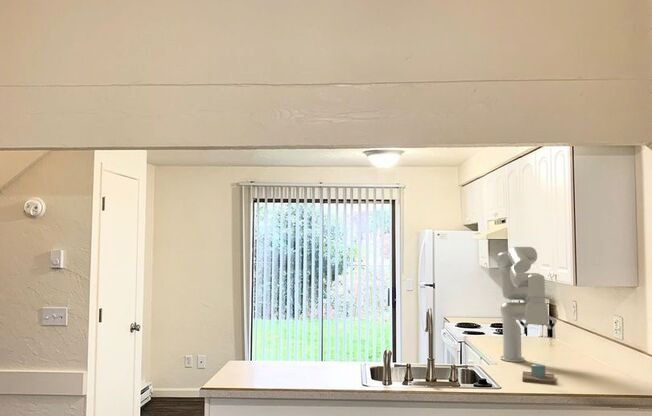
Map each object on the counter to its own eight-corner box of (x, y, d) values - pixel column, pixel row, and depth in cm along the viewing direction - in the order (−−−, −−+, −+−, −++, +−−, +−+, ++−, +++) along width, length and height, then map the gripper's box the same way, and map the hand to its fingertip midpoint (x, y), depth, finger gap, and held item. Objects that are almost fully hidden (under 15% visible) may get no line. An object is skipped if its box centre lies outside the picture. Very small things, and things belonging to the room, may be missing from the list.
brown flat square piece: (522, 374, 251) (522, 371, 251) (554, 377, 246) (553, 374, 246) (522, 381, 238) (522, 378, 238) (555, 384, 233) (555, 381, 233)
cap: (531, 373, 246) (531, 363, 246) (545, 375, 244) (544, 364, 244) (531, 376, 240) (531, 366, 241) (545, 378, 238) (545, 367, 238)
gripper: (517, 300, 244) (517, 336, 243) (556, 302, 238) (557, 339, 237) (517, 298, 251) (518, 333, 250) (555, 300, 245) (556, 336, 243)
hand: (537, 336), depth 243 cm, fingers open, 9 cm apart
